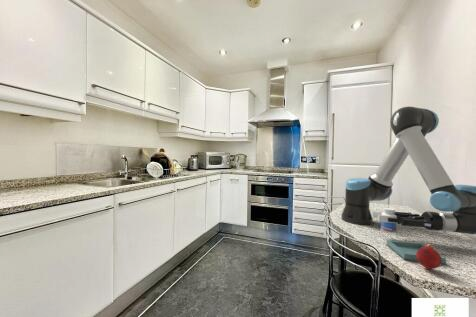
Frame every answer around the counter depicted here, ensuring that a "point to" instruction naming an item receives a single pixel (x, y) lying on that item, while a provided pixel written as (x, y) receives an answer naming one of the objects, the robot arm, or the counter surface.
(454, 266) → the counter surface
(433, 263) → the onion
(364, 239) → the counter surface
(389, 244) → the tray
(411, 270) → the counter surface
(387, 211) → the pill bottle
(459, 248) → the counter surface
